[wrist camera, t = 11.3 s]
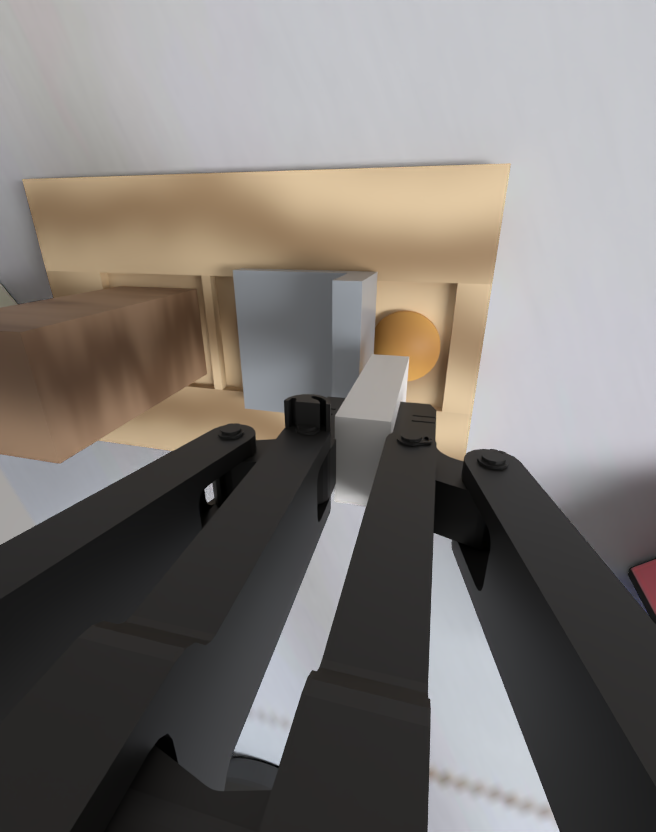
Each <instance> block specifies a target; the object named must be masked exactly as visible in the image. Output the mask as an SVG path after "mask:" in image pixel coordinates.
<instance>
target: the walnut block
mask: <svg viewBox="0 0 656 832" xmlns="http://www.w3.org/2000/svg"><path fill="white" fill-rule="evenodd" d="M206 374H207V368H206V360H205V352H204V344H203V336H202V327H201V319H200V311H199V303H198V295H197V289H183V288H158V287H132V286H118V287H113V288H107V289H102V290H96V291H90V292H85V293H79V294H74V295H68V296H63V297H57V298H51V299H46V300H40V301H35V302H29V303H23V304H18V305H12V306H7V307H1V308H0V454H3V455H9V456H15V457H22V458H28V459H34V460H40V461H47V462H53V463H59V464H60V463H62V462H63V461H65V460H67V459H68V458H70V457H72V456H73V455H75V454H76V453H78V452H80V451H81V450H83V449H85V448H86V447H88V446H90V445H91V444H93V443H95V442H96V441H98V440H99V439H101V438H103V437H104V436H106V435H108V434H109V433H111V432H113V431H114V430H116V429H118V428H119V427H121V426H122V425H124V424H126V423H127V422H129V421H131V420H132V419H134V418H136V417H137V416H139V415H141V414H142V413H144V412H145V411H147V410H149V409H150V408H152V407H154V406H155V405H157V404H159V403H160V402H162V401H164V400H165V399H167V398H168V397H170V396H172V395H173V394H175V393H177V392H178V391H180V390H182V389H183V388H185V387H187V386H188V385H190V384H191V383H193V382H195V381H196V380H198V379H200V378H201V377H203V376H205V375H206Z"/></svg>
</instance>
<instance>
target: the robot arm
mask: <svg viewBox="0 0 656 832" xmlns="http://www.w3.org/2000/svg"><path fill="white" fill-rule="evenodd" d="M408 367H409V357H408V356H392V355H376V354H372V355H371V357H370V358H369V360H368V362H367V363H366V365H365V367H364V368H363V370H362V372H361V373H360V375H359V377H358V378H357V380H356V382H355V383H354V385H353V387H352V388H351V390H350V392H349V393H348V395H347V397H346V398H340V397H329V396H328V397H324V396H321V395H315V394H301V395H295V396H291V397H288V398H287V399H285V400H284V415H285V428H284V429H283V431H282V432H281V433H280V434H279V436H278V437H277V438H276V439H267V440H256V432H255V430H254V429H253V428H252V427H250V426H248V425H242V424H239V423H234V424H233V423H230V424H227V425H224V426H219V427H217V428H214V429H212V430H210V431H209V432H207V433H205V434H203V435H201V436H199V437H198V438H196V439H194V440H192V441H190V442H188V443H187V444H185V445H183V446H181V447H179V448H177V449H176V450H174V451H172V452H170V453H168V454H166V455H165V456H163V457H161V458H159V459H157V460H155V461H154V462H152V463H150V464H148V465H146V466H144V467H143V468H141V469H139V470H137V471H135V472H133V473H131V474H130V475H128V476H126V477H124V478H122V479H120V480H119V481H117V482H115V483H113V484H111V485H109V486H108V487H106V488H104V489H102V490H100V491H98V492H97V493H95V494H93V495H91V496H89V497H87V498H86V499H84V500H82V501H80V502H78V503H76V504H75V505H73V506H71V507H69V508H67V509H65V510H64V511H62V512H60V513H58V514H56V515H54V516H53V517H51V518H49V519H47V520H45V521H43V522H42V523H40V524H38V525H36V526H34V527H33V528H31V529H29V530H27V531H25V532H23V533H22V534H20V535H18V536H16V537H14V538H12V539H11V540H9V541H7V542H5V543H3V544H1V545H0V832H427V828H428V792H429V757H430V713H431V708H430V699H428V671H429V643H430V615H431V588H432V560H433V533H436V534H439V535H441V536H444V537H446V538H449V539H452V550H453V553H454V556H455V558H456V561H457V564H458V566H459V569H460V571H461V574H462V577H463V579H464V582H465V584H466V587H467V590H468V592H469V595H470V598H471V600H472V603H473V605H474V608H475V611H476V613H477V616H478V619H479V621H480V624H481V626H482V629H483V632H484V634H485V637H486V639H487V642H488V645H489V647H490V650H491V653H492V655H493V658H494V660H495V663H496V666H497V668H498V671H499V673H500V676H501V679H502V681H503V684H504V687H505V689H506V692H507V694H508V697H509V700H510V702H511V705H512V708H513V710H514V713H515V715H516V718H517V721H518V723H519V726H520V728H521V731H522V734H523V736H524V739H525V742H526V744H527V747H528V749H529V752H530V755H531V757H532V760H533V763H534V765H535V768H536V770H537V773H538V776H539V778H540V781H541V783H542V786H543V789H544V791H545V794H546V797H547V799H548V802H549V804H550V807H551V810H552V812H553V815H554V818H555V820H556V823H557V825H558V828H559V831H560V832H656V624H655V623H654V622H653V620H652V619H651V618H650V617H649V616H648V614H647V613H646V612H645V611H644V610H643V608H642V607H641V606H640V605H639V604H638V602H637V601H636V600H635V599H634V598H633V596H632V595H631V594H630V593H629V592H628V590H627V589H626V588H625V587H624V586H623V584H622V583H621V582H620V581H619V580H618V578H617V577H616V576H615V575H614V574H613V572H612V571H611V570H610V569H609V568H608V566H607V565H606V564H605V563H604V562H603V560H602V559H601V558H600V557H599V556H598V554H597V553H596V552H595V551H594V550H593V548H592V547H591V546H590V545H589V544H588V542H587V541H586V540H585V539H584V538H583V536H582V535H581V534H580V533H579V532H578V530H577V529H576V528H575V527H574V526H573V524H572V523H571V522H570V521H569V520H568V518H567V517H566V516H565V515H564V514H563V512H562V511H561V510H560V509H559V508H558V506H557V505H556V504H555V503H554V502H553V500H552V499H551V498H550V497H549V496H548V494H547V493H546V492H545V491H544V490H543V488H542V487H541V486H540V485H539V484H538V482H537V481H536V480H535V479H534V478H533V476H532V475H531V474H530V473H529V472H528V470H527V469H526V468H525V467H524V466H523V464H522V463H521V462H520V461H519V460H517V459H516V458H515V457H513V456H511V455H509V454H507V453H505V452H503V451H498V450H495V449H490V450H488V449H480V450H473V451H471V452H468V453H467V454H466V455H465V456H464V461H461V460H457V459H454V458H452V457H449V456H447V455H445V454H443V453H442V452H440V451H439V450H438V449H437V443H436V440H435V438H436V409H435V408H434V407H433V406H432V405H431V404H422V403H411V402H406V393H407V380H408ZM211 483H213V491H214V499H213V500H211V501H210V502H207V501H206V498H205V491H204V489H205V488H206V487H207V486H208V485H210V484H211ZM333 489H334V502H339V503H346V504H353V505H360V506H366V509H365V513H364V516H363V520H362V523H361V527H360V530H359V534H358V537H357V540H356V544H355V547H354V551H353V554H352V558H351V561H350V565H349V568H348V572H347V575H346V579H345V582H344V586H343V589H342V593H341V596H340V599H339V603H338V606H337V610H336V613H335V617H334V620H333V624H332V627H331V631H330V634H329V638H328V641H327V645H326V648H325V652H324V655H323V658H322V661H321V664H320V667H319V669H318V671H313V670H312V671H311V673H310V674H309V676H308V678H307V680H306V683H305V686H304V689H303V691H302V694H301V697H300V700H299V704H298V707H297V710H296V713H295V717H294V720H293V723H292V726H291V729H290V733H289V736H288V739H287V742H286V745H285V749H284V752H283V755H282V758H281V761H280V765H279V768H276V767H274V766H271V765H269V764H266V763H263V762H259V761H255V760H251V759H245V758H231V757H232V754H233V751H234V749H235V746H236V744H237V741H238V739H239V736H240V734H241V731H242V729H243V727H244V724H245V722H246V719H247V717H248V714H249V712H250V709H251V707H252V704H253V702H254V699H255V697H256V694H257V692H258V689H259V687H260V684H261V682H262V679H263V677H264V674H265V672H266V670H267V667H268V665H269V662H270V660H271V657H272V655H273V652H274V650H275V647H276V645H277V642H278V640H279V637H280V635H281V632H282V630H283V627H284V625H285V622H286V620H287V617H288V615H289V613H290V610H291V608H292V605H293V603H294V600H295V598H296V595H297V593H298V590H299V588H300V585H301V583H302V580H303V578H304V575H305V573H306V570H307V568H308V565H309V563H310V560H311V558H312V556H313V553H314V551H315V548H316V546H317V543H318V541H319V538H320V536H321V533H322V531H323V528H324V526H325V523H326V521H327V518H328V516H329V513H330V508H331V494H332V491H333Z"/></svg>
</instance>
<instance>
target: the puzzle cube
mask: <svg viewBox="0 0 656 832" xmlns="http://www.w3.org/2000/svg"><path fill="white" fill-rule="evenodd" d="M628 576H629V577H630V579H631V581H632V583H633V585H634V587H635V589H636V591H637V593H638V595H639V597H640V599H641V601H642V602H643V604H644V606H645V608H646V610H647V612H648V614H649V616H650V618H651V619H652V620H653V622H654V623H655V624H656V559H655V560H652V561H649V562H646V563H644V564H641V565H638V566H636V567H633V568H630V570H629V573H628Z"/></svg>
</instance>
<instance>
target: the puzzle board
mask: <svg viewBox="0 0 656 832" xmlns="http://www.w3.org/2000/svg"><path fill="white" fill-rule="evenodd" d="M510 165H511V164H480V165H449V166H418V167H387V168H355V169H324V170H293V171H262V172H231V173H200V174H169V175H138V176H107V177H76V178H45V179H22V181H23V184H24V188H25V192H26V196H27V200H28V203H29V207H30V211H31V215H32V219H33V223H34V226H35V230H36V234H37V238H38V242H39V245H40V249H41V253H42V257H43V261H44V265H45V268H46V272H47V276H48V280H49V284H50V287H51V291H52V295H53V298H57V297H63V296H68V295H74V294H79V293H85V292H90V291H96V290H102V289H107V288H113V287H118V286H132V287H158V288H183V289H197V295H198V303H199V311H200V319H201V327H202V336H203V344H204V352H205V360H206V368H207V374H206V375H205V376H203V377H201V378H200V379H198V380H196V381H195V382H193V383H191V384H190V385H188V386H187V387H185V388H183V389H182V390H180V391H178V392H177V393H175V394H173V395H172V396H170V397H168V398H167V399H165V400H164V401H162V402H160V403H159V404H157V405H155V406H154V407H152V408H150V409H149V410H147V411H145V412H144V413H142V414H141V415H139V416H137V417H136V418H134V419H132V420H131V421H129V422H127V423H126V424H124V425H122V426H121V427H119V428H118V429H116V430H114V431H113V432H111V433H109V434H108V435H106V436H104V437H103V438H101V439H99V440H98V441H105V442H112V443H119V444H127V445H134V446H141V447H148V448H155V449H162V450H169V451H174V450H176V449H177V448H179V447H181V446H183V445H185V444H187V443H188V442H190V441H192V440H194V439H196V438H198V437H199V436H201V435H203V434H205V433H207V432H209V431H210V430H212V429H214V428H217V427H219V426H224V425H227V424H230V423H233V424H234V423H239V424H242V425H248V426H250V427H252V428H253V429H254V430H255V432H256V440H267V439H276V438H277V437H278V436H279V434H280V433H281V432H282V431H283V429H284V428H285V415H284V413H282V412H272V411H263V410H254V409H245V404H244V392H243V381H242V370H241V358H240V347H239V335H238V324H237V313H236V301H235V290H234V279H233V270H235V269H240V268H250V269H290V270H330V271H369V272H378V273H377V294H376V316H375V337H374V354H376V355H392V356H408V357H409V367H408V380H407V393H406V402H411V403H422V404H431V405H432V406H433V407H434V408H435V409H436V438H435V440H436V443H437V449H438V450H439V451H440V452H442V453H443V454H445V455H447V456H449V457H452V458H454V459H457V460H461V461H464V456H465V455H466V448H467V442H468V436H469V429H470V423H471V416H472V410H473V403H474V397H475V391H476V384H477V378H478V371H479V365H480V358H481V352H482V345H483V339H484V333H485V326H486V320H487V313H488V307H489V300H490V294H491V288H492V281H493V275H494V268H495V262H496V255H497V249H498V243H499V236H500V230H501V223H502V217H503V210H504V204H505V198H506V191H507V185H508V178H509V172H510Z"/></svg>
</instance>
